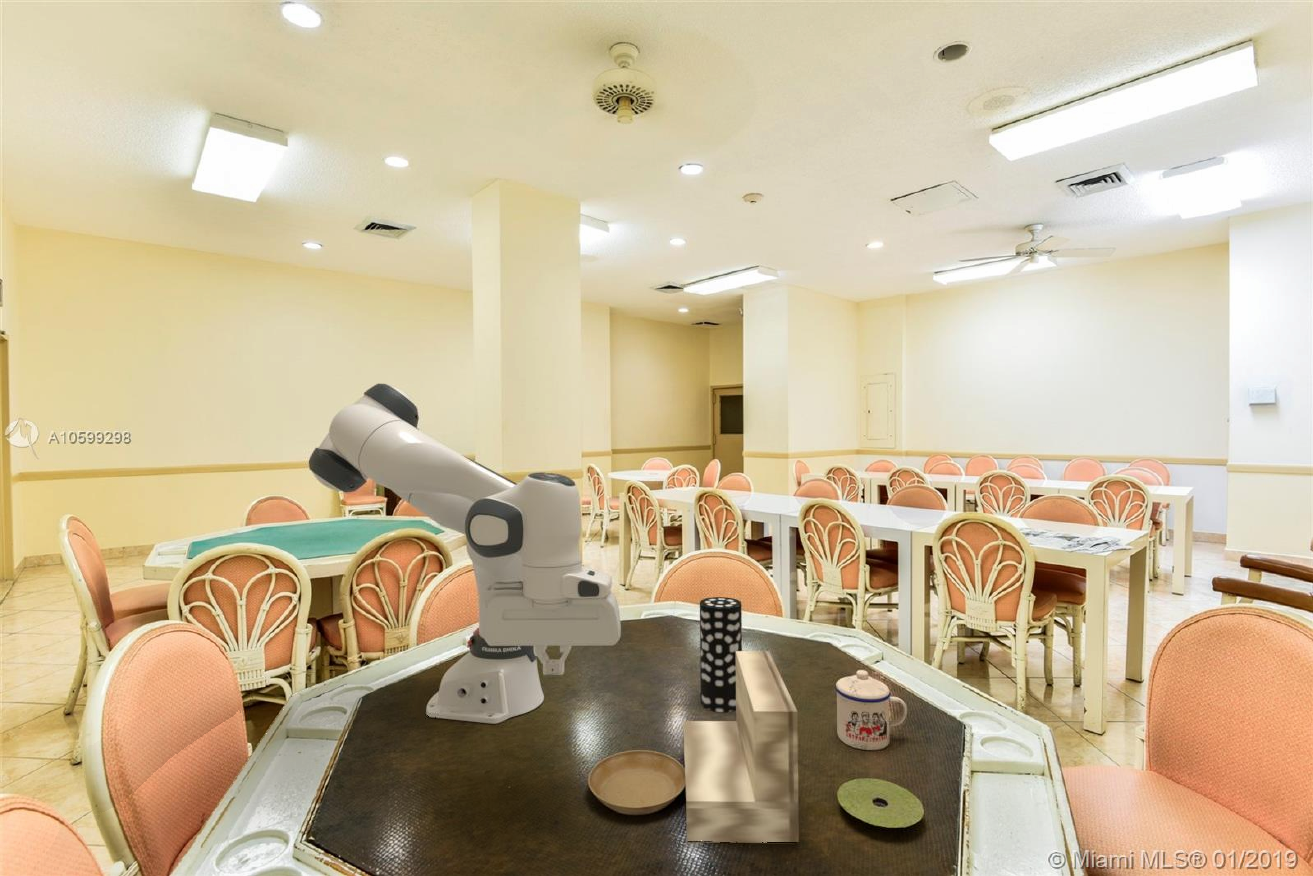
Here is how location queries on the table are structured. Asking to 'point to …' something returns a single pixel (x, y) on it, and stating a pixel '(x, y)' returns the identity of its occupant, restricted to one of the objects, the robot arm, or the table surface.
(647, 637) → the table surface
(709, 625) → the white-spotted black cylinder
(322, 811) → the table surface
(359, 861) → the table surface
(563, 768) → the table surface
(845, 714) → the teacup with lid
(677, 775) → the plant saucer
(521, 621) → the robot arm
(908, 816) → the green disc with hole
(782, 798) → the wooden step block
